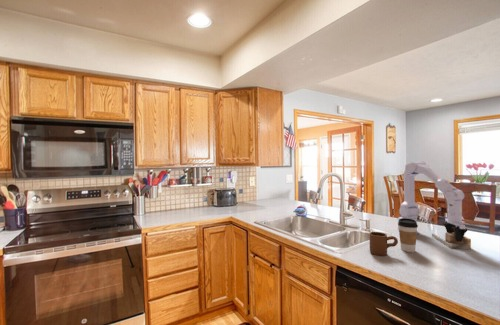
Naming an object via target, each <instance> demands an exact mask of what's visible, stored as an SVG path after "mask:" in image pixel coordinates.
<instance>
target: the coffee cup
mask: <svg viewBox="0 0 500 325" xmlns="http://www.w3.org/2000/svg"><path fill="white" fill-rule="evenodd" d="M398 225H399V230H398V232H399V243H400V249H401V251H403V252H407V253H414V252H416V245H417V237H418V236H417V235H418V233H417V231H418V230H417V229H418V228H419V227H418V226H419V225H418V223H417V220H416V221H415V220H413V219H407V218H401V219H399V223H398V222H397V226H398Z"/></svg>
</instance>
